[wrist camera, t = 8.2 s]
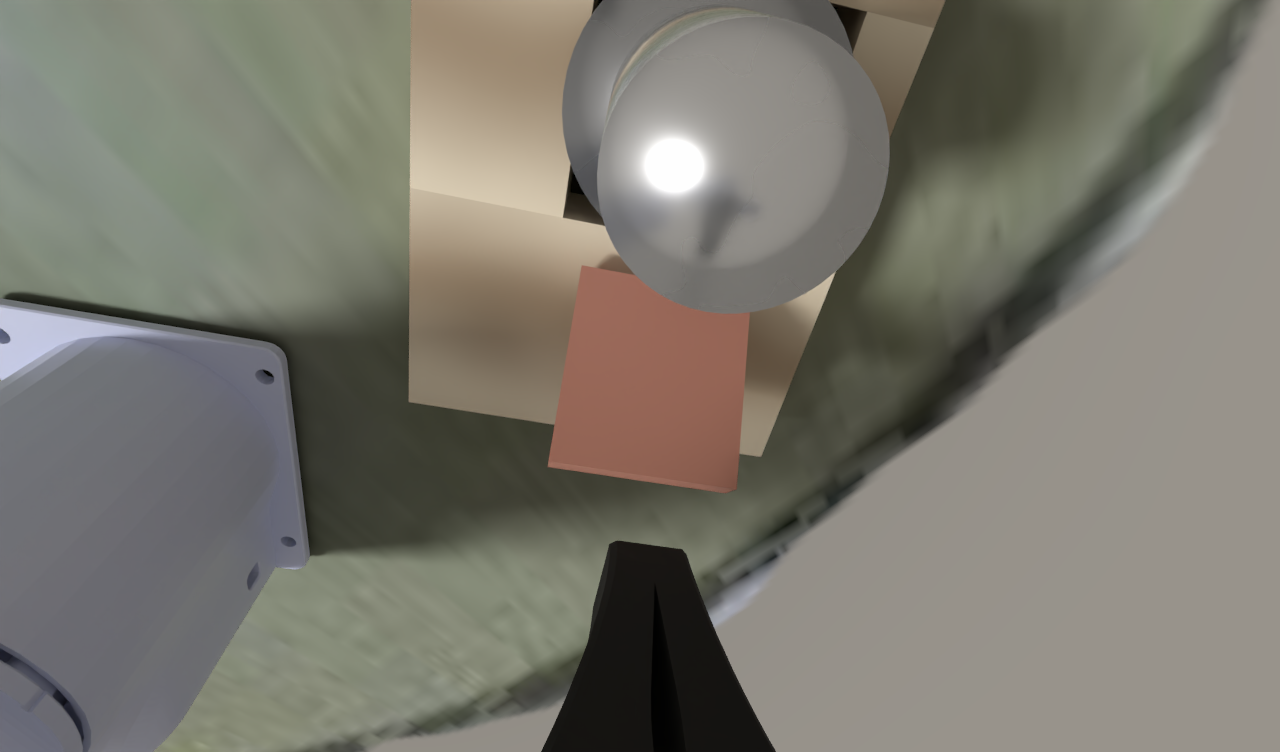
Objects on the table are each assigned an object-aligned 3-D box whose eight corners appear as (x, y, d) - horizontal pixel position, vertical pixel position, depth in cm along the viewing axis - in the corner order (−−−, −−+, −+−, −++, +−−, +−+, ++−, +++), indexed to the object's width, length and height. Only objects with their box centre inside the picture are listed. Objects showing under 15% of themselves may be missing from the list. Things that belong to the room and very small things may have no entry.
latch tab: (725, 493, 14) (736, 489, 13) (547, 466, 13) (548, 461, 13) (740, 310, 15) (751, 296, 14) (579, 280, 15) (581, 265, 14)
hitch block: (749, 415, 20) (760, 457, 18) (429, 363, 18) (408, 402, 17) (936, -82, 13) (982, -91, 11) (444, -216, 12) (412, -249, 10)
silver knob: (777, 240, 16) (859, 388, 10) (558, 198, 16) (512, 330, 10) (862, -16, 13) (1046, -11, 7) (593, -81, 13) (559, -135, 7)
